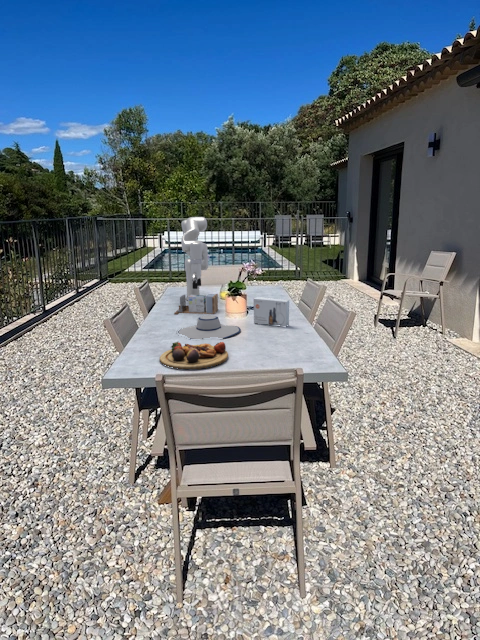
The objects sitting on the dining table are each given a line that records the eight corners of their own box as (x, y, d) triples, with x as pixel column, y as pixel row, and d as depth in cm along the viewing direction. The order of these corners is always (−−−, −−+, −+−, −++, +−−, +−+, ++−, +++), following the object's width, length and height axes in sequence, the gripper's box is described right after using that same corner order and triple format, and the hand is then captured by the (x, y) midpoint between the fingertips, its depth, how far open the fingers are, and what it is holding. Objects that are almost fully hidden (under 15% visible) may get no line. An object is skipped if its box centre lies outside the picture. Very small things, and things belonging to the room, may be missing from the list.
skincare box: (253, 324, 270) (253, 298, 266) (256, 322, 274) (256, 296, 271) (286, 328, 261) (286, 301, 257) (289, 325, 265) (289, 299, 261)
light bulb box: (206, 310, 301) (206, 294, 298) (204, 312, 295) (203, 296, 292) (191, 310, 303) (190, 294, 300) (188, 312, 296) (187, 296, 293)
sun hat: (250, 327, 265) (250, 312, 262) (224, 345, 233) (224, 328, 230) (195, 321, 278) (195, 307, 276) (164, 337, 246) (163, 321, 244)
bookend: (180, 309, 305) (180, 294, 302) (185, 309, 304) (185, 294, 302) (176, 312, 296) (176, 297, 294) (182, 312, 296) (181, 297, 293)
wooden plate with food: (230, 348, 225) (229, 332, 223) (226, 370, 194) (225, 352, 192) (167, 349, 226) (166, 334, 224) (152, 371, 195) (151, 353, 193)
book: (209, 309, 303) (208, 294, 300) (215, 310, 302) (215, 294, 299) (206, 313, 294) (205, 296, 291) (213, 313, 293) (212, 296, 290)
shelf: (179, 310, 307) (178, 293, 304) (218, 311, 303) (217, 293, 300) (174, 314, 295) (173, 296, 292) (214, 315, 291) (213, 297, 288)
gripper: (193, 259, 299) (194, 284, 304) (187, 263, 283) (188, 289, 288) (204, 259, 298) (205, 284, 303) (198, 263, 282) (199, 290, 286)
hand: (196, 287), depth 295 cm, fingers open, 9 cm apart
